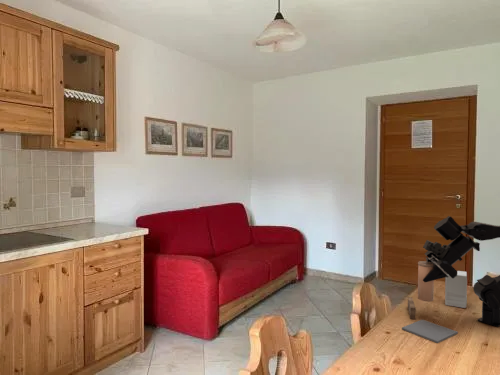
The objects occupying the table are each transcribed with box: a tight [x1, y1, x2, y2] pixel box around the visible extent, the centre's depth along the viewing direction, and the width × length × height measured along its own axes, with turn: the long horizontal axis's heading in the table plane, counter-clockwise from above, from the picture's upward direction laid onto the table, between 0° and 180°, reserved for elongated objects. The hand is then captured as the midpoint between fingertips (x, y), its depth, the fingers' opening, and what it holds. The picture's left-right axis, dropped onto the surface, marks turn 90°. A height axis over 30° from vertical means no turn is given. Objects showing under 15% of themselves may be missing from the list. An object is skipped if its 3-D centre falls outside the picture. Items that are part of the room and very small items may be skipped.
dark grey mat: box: [401, 319, 458, 344], centre depth 119 cm, size 12×12×1 cm
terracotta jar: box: [417, 260, 435, 302], centre depth 130 cm, size 5×5×13 cm
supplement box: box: [444, 270, 468, 309], centre depth 144 cm, size 7×7×13 cm
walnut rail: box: [407, 296, 416, 320], centre depth 135 cm, size 12×2×4 cm, turn 161°
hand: (421, 279), depth 130 cm, fingers closed on terracotta jar, 5 cm apart
